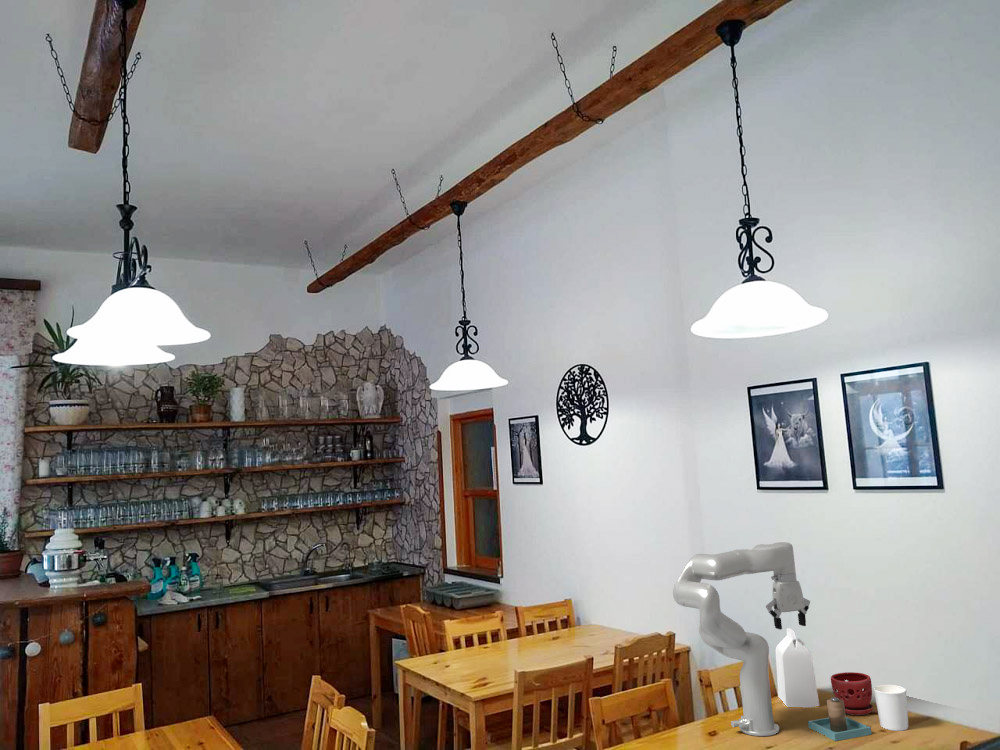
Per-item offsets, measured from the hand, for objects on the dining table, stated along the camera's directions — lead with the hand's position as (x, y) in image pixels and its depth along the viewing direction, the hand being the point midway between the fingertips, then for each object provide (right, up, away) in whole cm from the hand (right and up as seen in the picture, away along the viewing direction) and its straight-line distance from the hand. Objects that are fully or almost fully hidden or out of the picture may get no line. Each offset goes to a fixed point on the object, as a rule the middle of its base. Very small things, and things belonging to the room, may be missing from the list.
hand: (790, 627), depth 275 cm
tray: (+8, -28, -20) cm, 35 cm away
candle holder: (+27, -27, -20) cm, 43 cm away
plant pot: (+21, -29, -3) cm, 36 cm away
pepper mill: (+8, -27, -20) cm, 35 cm away
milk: (+7, -32, +11) cm, 34 cm away
